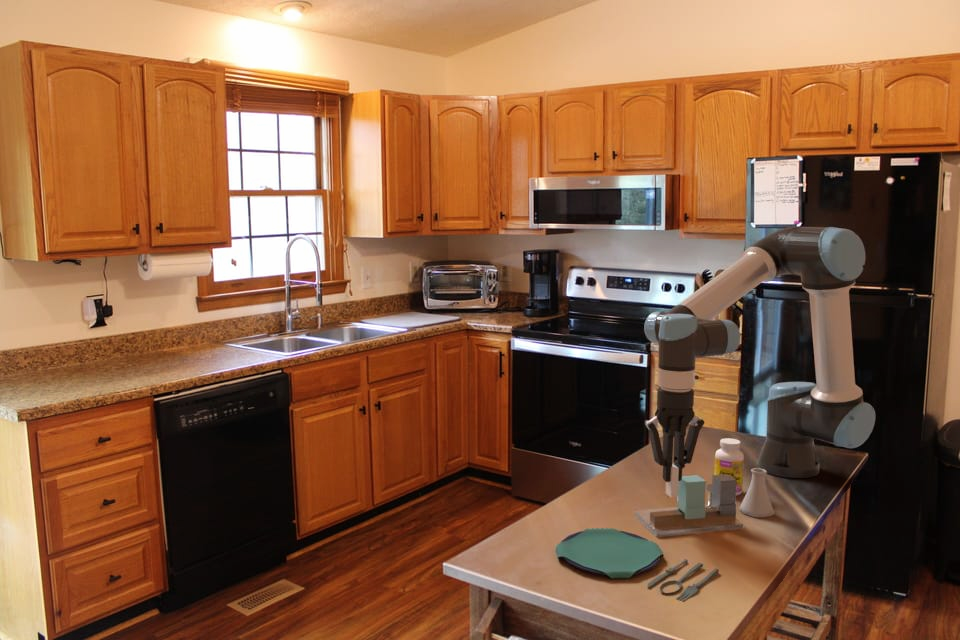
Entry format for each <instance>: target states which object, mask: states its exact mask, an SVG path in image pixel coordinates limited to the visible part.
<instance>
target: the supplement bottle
mask: <svg viewBox="0 0 960 640" xmlns="http://www.w3.org/2000/svg"><path fill="white" fill-rule="evenodd" d="M741 443H742V442H741V441H740V440H738V439H737V438H729V437H727V438H721V439H720V441H719V447H720V448H719V449H717V450H716V452H715V455H714V470H713V471H714V473H713V475H722V474H728V475H730V476H731V477H733V478H734V479H736V496H740V495H741V494H742V492H743V483H744V482H743V481H744V479H743V478H744V464H745V454H744V452H742V451H741V450H740V448H741V447H742V446H741Z"/></svg>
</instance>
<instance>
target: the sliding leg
mask: <svg viewBox="0 0 960 640" xmlns="http://www.w3.org/2000/svg"><path fill="white" fill-rule="evenodd" d="M706 491H707V481H706V480H705V479H704V478H702V477H701V476H699V475H698V474H696V475H695V474H694V475H684V476H683V475H682V479H681V481H678V497H676V498H677V499H676V500H677V501H676V507H677V510H681V511H683V512H684V513H685V519H697V518H705V508H706V507H705V504H706Z"/></svg>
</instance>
